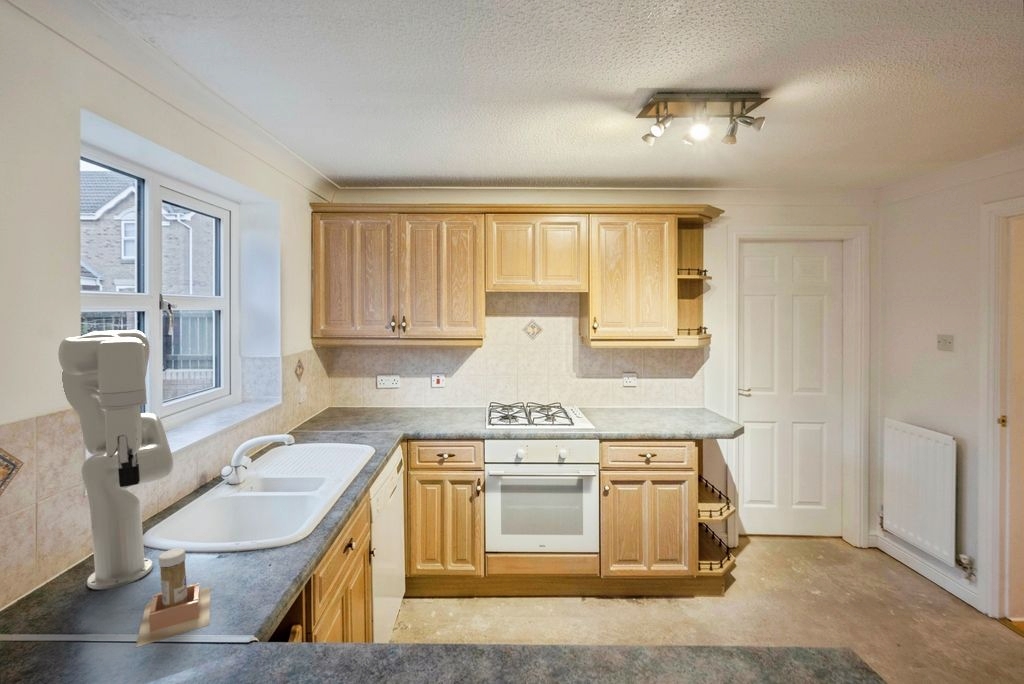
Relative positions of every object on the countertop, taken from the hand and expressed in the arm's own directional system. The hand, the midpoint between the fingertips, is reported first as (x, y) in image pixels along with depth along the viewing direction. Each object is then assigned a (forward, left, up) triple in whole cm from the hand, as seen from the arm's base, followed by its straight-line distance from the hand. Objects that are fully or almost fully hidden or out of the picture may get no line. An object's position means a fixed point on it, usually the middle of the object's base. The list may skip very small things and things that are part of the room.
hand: (129, 484), depth 101 cm
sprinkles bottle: (+6, +7, -28) cm, 29 cm away
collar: (+6, +7, -28) cm, 29 cm away
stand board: (+6, +7, -29) cm, 31 cm away
